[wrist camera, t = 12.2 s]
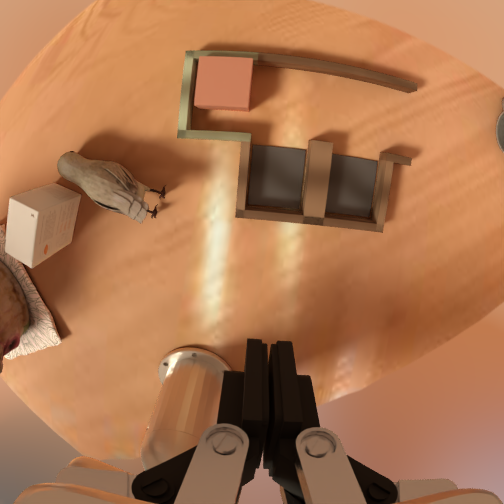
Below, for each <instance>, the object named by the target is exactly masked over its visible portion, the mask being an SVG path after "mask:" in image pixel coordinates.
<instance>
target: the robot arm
mask: <svg viewBox="0 0 504 504" xmlns="http://www.w3.org/2000/svg"><path fill="white" fill-rule="evenodd" d="M158 374H159V379H160V382H161V383H162V388H161V391H160V393H159V396H158V399H157V402H156V405H155V407H154V410H153V413H152V416H151V419H150V421H149V424H148V427H147V430H146V433H145V436H144V439H143V442H142V445H141V460H142V463H143V466H144V469H145V471H143V472H142V473H140V474H139V475H134V474H131V473H129V472H126V471H123V470H121V469H118V468H116V467H113V466H111V465H108V464H106V463H103V462H101V461H99V460H96V459H93V458H90V457H84V456H81V457H77V458H75V459H73V460H72V461H71V462H70V463H69V464H68V465H67V467H66V468H63V469H62V470H61V471H60V472H59V473H58V475H57V477H56V482H55V483H41V484H36V485H32V486H30V487H28V488H27V489H25V490H24V491H23V492H22V493H21V494H20V495H19V496H18V498H17V499H16V500H15V502H14V503H13V504H238V502H239V498H240V494H241V490H242V486H244V485H245V484H247V483H248V482H250V481H251V480H252V479H254V474H255V470H256V468H259V466H260V462H261V457H262V453H263V468H264V469H269V476H272V477H273V478H272V479H273V480H274V481H275V482H277V483H278V484H279V485H280V492H281V497H282V501H283V504H503V503H502V501H501V500H500V499H499V498H498V496H497V495H495V494H494V493H492V492H490V491H487V490H483V489H471V488H470V489H458V488H457V486H456V484H455V483H454V482H452V481H451V480H449V479H430V480H429V479H427V480H399V481H398V482H392V481H391V480H389V479H388V478H386V477H384V476H382V475H380V474H379V473H377V472H375V471H373V470H372V469H370V468H368V467H366V466H365V465H363V464H361V463H360V462H358V461H356V460H354V459H353V458H351V457H349V456H348V455H346V453H345V451H344V448H343V446H342V443H341V441H340V439H339V438H338V436H337V435H336V434H334V433H333V432H332V431H330V430H328V429H325V428H320V424H319V418H318V413H317V408H316V402H315V397H314V392H313V386H312V381H311V377H310V376H309V375H297V373H296V366H295V359H294V352H293V345H292V342H291V341H277V343H276V344H271V349H270V355H269V362H268V353H267V344H264V343H262V340H261V339H248V338H247V348H246V358H245V368H244V372H239V371H232V370H231V368H230V367H229V365H228V364H227V363H226V362H225V361H224V360H223V359H222V358H220V357H219V356H217V355H216V354H214V353H212V352H210V351H207V350H204V349H199V348H189V347H186V348H179V349H176V350H173V351H171V352H169V353H168V354H167V355H166V356H165V357H164V358H163V359H162V361H161V363H160V366H159V370H158Z"/></svg>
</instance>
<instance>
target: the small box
mask: <svg viewBox="0 0 504 504" xmlns="http://www.w3.org/2000/svg"><path fill="white" fill-rule="evenodd" d="M80 199H81V194H79V193H77V192H74V191H72V190H70V189H68V188H65V187H63V186H61V185H59V184H56V183H52V184H48V185H45V186H42V187H39V188H35V189H32V190H29V191H26V192H23V193H20V194H17V195H14V196H12V197H10V200H9V208H8V217H7V228H6V242H5V252H6V253H8V254H9V255H11V256H12V257H14V258H16V259H17V260H19V261H20V262H22V263H24V264H25V265H27V266H28V267H30V268H34V267H35V266H37V265H38V264H40V263H41V262H43V261H44V260H46V259H47V258H49V257H50V256H52V255H53V254H55V253H56V252H58V251H59V250H61V249H62V248H64V247H65V246H67V245H69V244H70V243H71V242H72V237H73V232H74V227H75V222H76V217H77V212H78V208H79V203H80Z"/></svg>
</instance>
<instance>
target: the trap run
mask: <svg viewBox="0 0 504 504" xmlns="http://www.w3.org/2000/svg"><path fill="white" fill-rule="evenodd" d="M199 56H218V57H242V58H253V65H259V66H271V67H280V68H289V69H297V70H304V71H311V72H318V73H324V74H330V75H335V76H340V77H345V78H350V79H355V80H360V81H364V82H369V83H373V84H377V85H381V86H385V87H389V88H392V89H396V90H399V91H403V92H406V93H411V92H414V91H417V83H414V82H411V81H407V80H404V79H401V78H397V77H394V76H390V75H387V74H383V73H379V72H375V71H371V70H367V69H363V68H358V67H354V66H349V65H344V64H339V63H334V62H329V61H323V60H317V59H311V58H304V57H297V56H289V55H280V54H270V53H258V52H242V51H186V54H185V62H184V70H183V79H182V88H181V98H180V109H179V121H178V134H177V138H181V139H209V140H227V141H241V152H240V164H239V177H238V189H237V202H236V216H235V217H236V218H248V219H259V220H270V221H281V222H291V223H301V224H311V225H321V226H330V227H339V228H348V229H357V230H365V231H374V232H382V233H383V228H384V222H385V217H386V211H387V205H388V199H389V193H390V186H391V179H392V172H393V164H394V163H398V164H403V165H409V166H411V160H412V158H409V157H404V156H400V155H395V154H391V153H384V152H380V158H379V166H378V174H377V181H376V188H375V195H374V201H373V207H372V213H371V219H364V218H356V217H348V216H340V215H331V214H325V212H331V213H340V214H348V215H356V216H364V217H369V216H370V210H371V204H372V198H373V191H374V184H375V177H376V169H377V161H372V160H366V159H360V158H355V157H348V156H342V155H336V154H332V150H333V143H330V142H324V141H317V140H309V144H308V153H307V163H306V172H305V181H304V190H303V198H302V206H301V211H294V210H285V209H274V208H264V207H252V206H245V205H246V193H247V181H248V169H249V157H250V146H251V133H241V132H225V131H204V130H191V121H192V109H193V98H194V88H195V79H196V70H197V63H199ZM305 152H306V150H299V149H291V148H282V147H272V146H261V145H253V151H252V163H251V174H250V186H249V198H248V204H253V205H264V206H275V207H285V208H295V209H299V205H300V197H301V188H302V180H303V170H304V161H305Z"/></svg>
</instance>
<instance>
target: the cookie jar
mask: <svg viewBox="0 0 504 504" xmlns="http://www.w3.org/2000/svg"><path fill="white" fill-rule="evenodd" d="M5 242H6V228H5V224H3V225H0V373H1V372H2V369H3V363H2V360H3V356H5V357H6V358H7V359H14V358H15V357H18V356H20V355H29V354H30V353H32V352H36V351H37V350H42V349H45V348H47V347H49V346H56V345H59V344H61V342H62V341H61V339H60V337H59V334H58V332H57V329H56V326H55V323H54V320H53V317H52V315H51V313H50V311H49V310H48V308H47V307H46V305H45V304H44V302H43V301H42V299H41V297H40V295H39V294H38V292H37V290H36V288H35V286H34V285H33V283H32V281H31V279H30V277H29V276H28V274H27V272H26V270H25V268H24V266H23V264H22V262H20V261H19V260H17V259H16V258H14V257H12V256H11V255H9V254H8V253H6V252H5Z"/></svg>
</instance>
